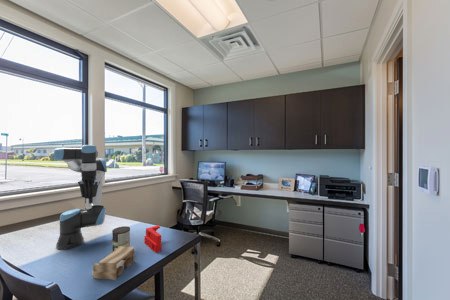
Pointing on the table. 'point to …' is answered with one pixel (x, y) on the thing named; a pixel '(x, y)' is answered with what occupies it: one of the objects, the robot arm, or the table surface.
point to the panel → (118, 264)
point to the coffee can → (121, 237)
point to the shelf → (113, 263)
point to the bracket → (153, 238)
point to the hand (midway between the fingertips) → (88, 208)
